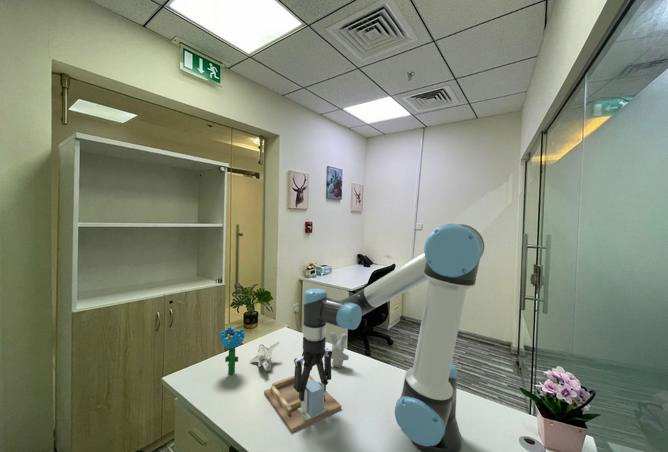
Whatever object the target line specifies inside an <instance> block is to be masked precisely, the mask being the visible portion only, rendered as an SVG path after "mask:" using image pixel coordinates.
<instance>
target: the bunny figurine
mask: <svg viewBox="0 0 668 452" xmlns="http://www.w3.org/2000/svg"><path fill="white" fill-rule="evenodd" d="M329 337H330V339H331V341H332V345H331V351H332V356H331V360H332V361H331V366H332V367H333V368H338V369H342V368H343V364H344V361H349V357H350V356H349V355H348V354H346V353H344V351H345V343H346V341H347V339H348V336H347V334H346V333H342V334H341V336H340V339H339V340H338V339H337V334H336V333H335V332H334V331H332V332H331V333H329Z"/></svg>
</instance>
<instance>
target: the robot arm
mask: <svg viewBox="0 0 668 452" xmlns="http://www.w3.org/2000/svg"><path fill="white" fill-rule="evenodd" d="M484 252H485V241H484V238H483V236H482V235H481V234H480V232H479V231H478V230H477V229H476V228H474V227H473V226H470V225H467V224H461V223H460V224H459V223H446V224H443V225H441V226H438V227H437V228H435V229H434V230H432V231H431V233H429V235H428V236H427V238H426V240H425V242H424V246H423V252H421V253H420V254H418V255H417V256H415V257H413V258H412V259H410V260H408V261H407V262H405V263H403V264H402V265H400V266H399V267H397V268H395V269H394V270H392V271H390V272H389V273H387V274H386V275H385V274H384V276H382V277H380V278H379V279H376V281H374V282H373V283H371V284H369V285H368V286H366V287H364V288H363V289H361V290H359V291H358V292H357V291H356V293H354V294H352V295H350V296H347V297H345V298H343V299H340V300H338V299H332V298H329V297H328V292H327V290H325V289H323V288H310V289H307V290H305V292H304V297H303V325H302V326H303V328H302V329H303V331H302V336H303V337H302V354H301V356H300V357H299V358H297V357H295V358H294V360H293V363H294V375H293V376H294V389H295V390H296V391H297V392H299V399H300V401H301V408H302V409H303V411H304V412H306V411H307V390H306V386H307V382H308V378H309V375H310V374H311V371H312V370H313V367H314V366H316V368H317V371H318V376H319V381H317V382H318V383H319V384H320V385H321V386H322V387H323V388H324V392H325V391H327V385H329V381H330V380H332V359H331V356H332V349H331V350H330V349H329V348H328V347H327V348H326V343H327V341H326V340H327V339H326V335H327V334H326V333H327V324H329V325H332V326H336V327H339V328H341V329H344V330H352V331H353V330H356V329H357V328H358V327H359V325H360V324H361V321H362V318H363V317H362V316H364V315H366V314H367V313H370V312H371V311H373V310H375V309H376V308H378V307H380V306H382V305H383V304H385V303H387V302H389V301H391V300H394V299H395V298H396V297H398V296H401V295H402V294H404V293H405V292H408V291H409V290H412V289H414V288H415V287H417V286H419V285H420V284H423V283H424V282H426V281H428V285H427V289H426V294H425V301H424V306H423V313H422V318H421V323H420V328H419V332H418V339H417V345H416V349H415V356H414V361H413V366H412V367H410V368H409V369H407V370H406V372H405V375H404V380H403V386H402V391H401V395H400V398H398V399H397V401H396V403H395V407H394V417H395V421H396V424H397V425H398V427H399V428H400V430H401V431H402V433H403V434H404V435H405V436H406V437H407V438H408V439H409V440H410V442H412V443H413V445H414V446H415V447H416V448H417V449H419V450H420V451H422V452H459V451H460V452H461V450H462V434H461V432H460V428H459V424H458V421H457V418H456V417H457V416H456V415H457V414H456V413H457V388H458V387H457V386H458V385H457V384H458V379H459V376H458V369H457V367H456V365H454V364H453V359H454V353H455V349H456V343H457V338H458V333H459V328H460V323H461V319H462V313H463V309H464V302H465V298H466V293H467V290H469V289H471V288H473V287H475V285H476V280H477V274H478V271H479V265H480V260H481V259H482V257H483V254H484ZM310 376H311V375H310ZM324 392H323V404H324Z"/></svg>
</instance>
